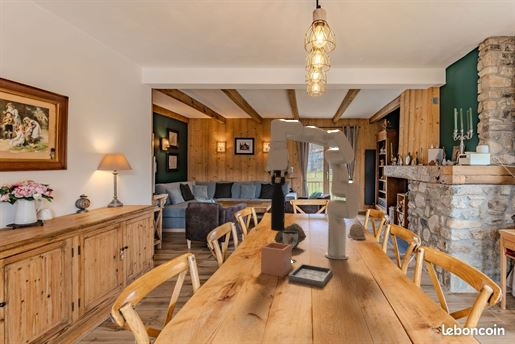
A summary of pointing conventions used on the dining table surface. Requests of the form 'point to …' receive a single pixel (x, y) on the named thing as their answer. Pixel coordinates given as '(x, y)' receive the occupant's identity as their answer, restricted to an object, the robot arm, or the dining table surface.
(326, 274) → the tray
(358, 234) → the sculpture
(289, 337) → the dining table surface
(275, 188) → the wine bottle
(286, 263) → the box
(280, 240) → the rock
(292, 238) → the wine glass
